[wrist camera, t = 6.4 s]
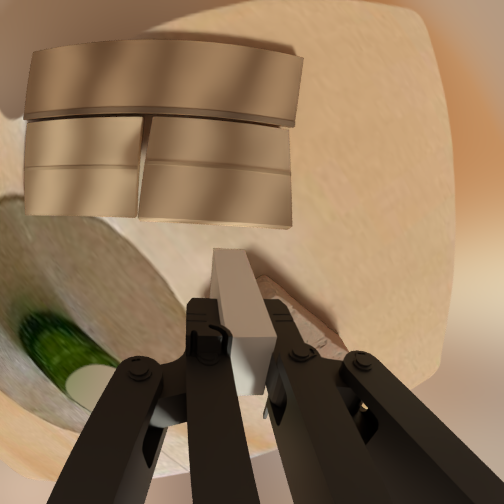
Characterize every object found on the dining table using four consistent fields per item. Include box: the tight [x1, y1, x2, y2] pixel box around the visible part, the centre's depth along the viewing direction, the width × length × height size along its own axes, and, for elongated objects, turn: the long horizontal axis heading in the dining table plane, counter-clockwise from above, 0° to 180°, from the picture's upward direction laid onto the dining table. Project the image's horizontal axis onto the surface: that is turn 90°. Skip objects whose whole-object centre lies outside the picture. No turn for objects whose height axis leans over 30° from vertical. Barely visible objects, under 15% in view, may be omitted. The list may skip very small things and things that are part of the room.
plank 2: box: [138, 117, 292, 230], centre depth 24 cm, size 12×9×1 cm
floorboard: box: [23, 39, 304, 128], centre depth 22 cm, size 26×7×2 cm, turn 82°
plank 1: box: [24, 117, 144, 218], centre depth 23 cm, size 12×9×1 cm
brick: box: [256, 275, 349, 361], centre depth 35 cm, size 17×8×5 cm, turn 44°
